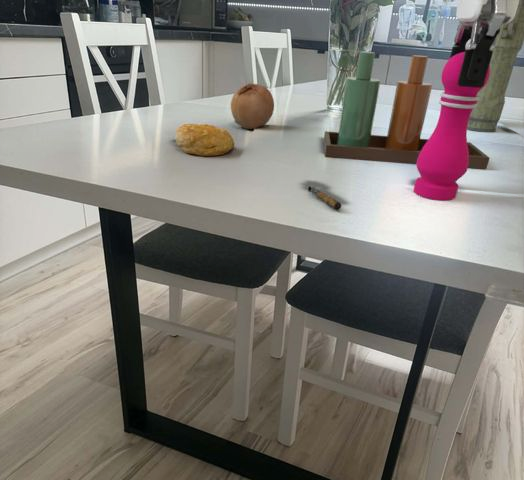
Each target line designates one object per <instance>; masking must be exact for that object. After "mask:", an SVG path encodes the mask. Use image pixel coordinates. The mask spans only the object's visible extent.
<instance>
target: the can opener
mask: <svg viewBox="0 0 524 480" xmlns="http://www.w3.org/2000/svg"><path fill="white" fill-rule="evenodd" d="M307 193H311V194H315V195H316V197H317V198H318V200H320V201H322V202H324V204H326V205H327V206H328V207H330V208H331V209H333V210H336V211H339V210H340V209H341V208H342V203H341V202H340V201H339V200H337V199H336V198H334V197H332V196H329V195H328V194H326V193H325V192H324V191H321V190H320V189H318V188H315V187H314V186H313V185H309V186H308V188H307Z"/></svg>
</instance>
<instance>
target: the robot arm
mask: <svg viewBox="0 0 524 480" xmlns="http://www.w3.org/2000/svg"><path fill="white" fill-rule="evenodd" d="M518 3H519V0H458V1H457V6H456V12H455V17H456V19H457V20H458V21H459V24H458V25H457V28H456V33H455V36H454V40H453V46H452V48H451V51H450V56H449V59H450V58H451V57H453V56H454V55H456V54H459V53H462V52H465V55H464V59H463V63H462V67H461V71H460V75H459V79H458V85H459V86H463V87H477V88H481V87H483V85H484V82H485V79H486V75H487V71H488V68H489V64H490V61H491V57H492V54H493V50H494V48H495V45H496V40H497V35H498V34H499V32H500V26H501V24H508V23H509V22H511V21H512V20H513V18H514V17H515V14H516V11H517V7H518ZM470 39H471V40H470ZM468 40H470V47H469V49H466V48H465V46H466V43H467V42H468Z"/></svg>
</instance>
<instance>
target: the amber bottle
mask: <svg viewBox="0 0 524 480" xmlns="http://www.w3.org/2000/svg"><path fill="white" fill-rule="evenodd" d="M428 61H429V56H427V55H417V54H416V55H415V54H414V55H413V54H412V57H411V63H410V67H409V71H408V77H407V80H397V82H396V87H395V93H394V98H393V103H392V108H391V113H390V118H389V124H388V129H387V134H386V136H387V139H386V144H385V149H395V150H408V151H417V150H418V146H419V142H420V139H421V138H422V137H421V136H422V133H423V130H424V129H423V128H424V124H425V121H426V120H425V119H426V115H427V111H428V106H429V101H430V98H431V93H432V89H433V84H432V83H430V82H426V81H425V82H424V79H425V75H426V69H427V66H428V65H427V64H428Z"/></svg>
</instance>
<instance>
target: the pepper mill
mask: <svg viewBox="0 0 524 480" xmlns="http://www.w3.org/2000/svg"><path fill="white" fill-rule="evenodd" d="M470 40H471V39H470ZM470 40H468V42H467V43H466V46H465V48H466V49H469V47H470ZM464 55H465V52H462V53H459V54H456V55H454V56H453V57H451V58H450V57H449V59H448V60H447V61H446V63H444V64H445V65H444V66H443V69H442V72H441V80H440V81H441V84H442V86H443V89H444V91H443V92H441V93H440V100H439V101H438V104H439V105H440V110H439V111H440V112H439V117H438V120H437V123H436V126H435V128H434V130H433V132H432V133H431V134H430V137H429V138H427V139H428V141H427V142H426V144H425V145H424V147H423V148H422V150H421V152H420V154H419V156H418V159H417V163H416V164H415V166H416V169H417V171H418V173H419V175H420V177H417V178H416V179H415V183H414V187H413V192H415V193H416V194H415V193H414V194H415V195H417V196H419V195H420V196H419V197H421V196H422V197H421V198H425V199H428V200H434V201H451V200H454V199H456V197H457V193H458V190H459V188H460V187H459V184H458V183H457V181H458V180H459V179H461V178H462V177H463V176H464V175H465V174H466V173H467V171H468V169H469V168H468V163H469V152H468V145H467V142H468V137H467V133H468V130H467V125H468V121H469V117H470V115H471V112H472V110H473V108H475V107H477V104H476V103H477V100H478V99H479V97H478V96H477V94H478V92H479V91H480V90H481V89H482V88H483V87H484V86H485V85H486V83H487V82H488V79H489V75H490V65H489V68H488V71H487V75H486V79H485V82H484V85H483V87H481V88H477V87H463V86H459V85H458V79H459V75H460V71H461V67H462V63H463V59H464Z"/></svg>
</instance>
